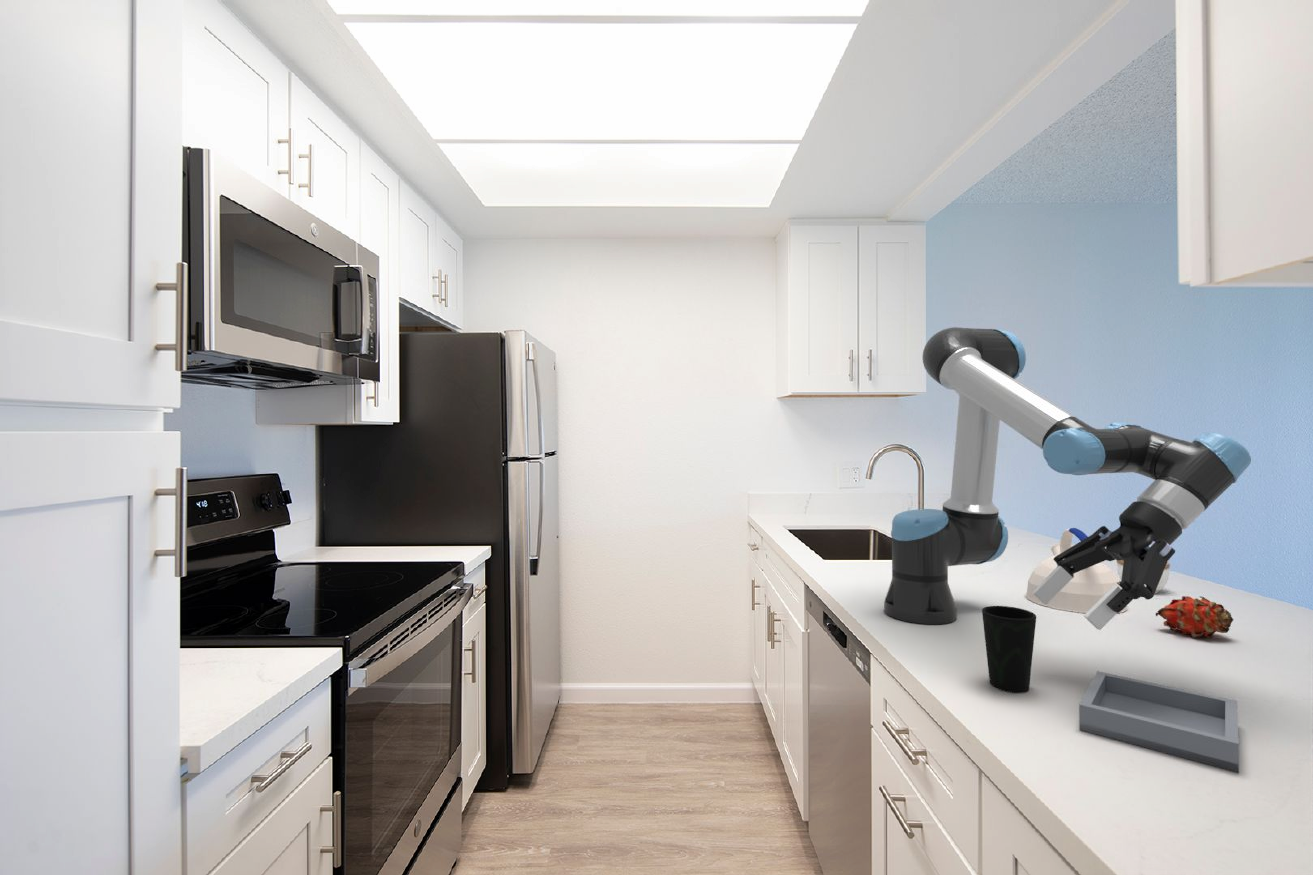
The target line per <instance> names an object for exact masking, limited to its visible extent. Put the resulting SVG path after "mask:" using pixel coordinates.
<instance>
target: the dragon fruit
mask: <svg viewBox="0 0 1313 875" xmlns="http://www.w3.org/2000/svg"><path fill="white" fill-rule="evenodd" d="M1200 598H1201V599H1199V598H1193V597H1191V596H1189V595H1188V596H1187V595H1182V596H1181V599H1171V602H1170V603H1169V604H1166V605H1165V606H1164V607H1161V608H1160V609H1159V610H1157V611H1156V612H1155V617H1158V616H1160V617H1161V618H1162V619H1164V620H1165V621H1163V626H1164V627H1167V628H1169V630H1170V631H1175V632H1178V633H1180V634H1183V635H1184V634H1191V637H1192V638H1193V639H1194V638H1197V637H1204V638H1207V639H1208V638H1209V639H1210V638H1214V634H1215V633H1220V634H1226V633H1228V632H1229V631H1230V628H1231V625H1232V623H1233V621H1234V618H1233V617H1232V613H1231V612H1229V611H1228V610H1227V609H1225V607H1224V605H1222V604H1220V603H1217V602H1214V601H1210V600H1209V599H1207V598H1206V597H1204V596H1200Z"/></svg>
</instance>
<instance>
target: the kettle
mask: <svg viewBox="0 0 1313 875" xmlns="http://www.w3.org/2000/svg"><path fill="white" fill-rule="evenodd" d="M1074 536H1075V537H1076V538H1077V539H1078V540H1079V542H1081V541H1082V540H1084V539H1086V538H1087V537H1089V536H1088V535H1087V534H1086V533H1085V532H1084V531H1082V530H1080V529H1078V528H1076V527H1072V528H1070V527H1069V528H1066V529H1065V530H1064V531H1063V532H1062V534H1061V536H1060V543H1057V544H1053V546H1052V547H1051V548H1050V550H1051V552H1052V554H1053V555H1052V556H1050V557H1048V558H1046V559H1044V560H1043V561H1040V563H1038V565H1036V566H1035V568H1033V570H1032V572H1031V574H1030V576H1029V578H1028V580H1027V588H1026V594H1025V597H1026V598H1027V599H1028V600H1029V601H1030V602H1032V603H1035V604H1036V603H1037V604H1036V605H1039V604H1040V605H1039V606H1042V607H1045V606H1047V607H1046V608H1049V607H1050V608H1051V609H1053V608H1054V609H1053V610H1058V609H1059V610H1058V611H1063V610H1066V611H1065V612H1069V611H1073V612H1072V613H1077V612H1079V613H1078V614H1086V613H1087V612H1088V611H1089V610H1090V609H1091V608H1092V607H1093V606H1094V605H1095V604H1096V603H1097V602H1098V601H1099V600H1100V599H1101V598H1102V597H1103V596H1104V595H1105V594H1106V593H1107V592H1108V591H1109V590H1110V589H1111V588H1112V587H1113V586H1114V585H1115V586H1118V587H1119V588H1120V589H1122V588H1121V587H1120V586H1119V585H1118V584H1117V582H1118V583H1119V582H1120V581H1121V580H1120V578H1119V576H1118V575H1117V574H1115V572H1114V571H1113V570H1112V569H1111V568H1110V567H1109V566H1107V565H1105V564H1104V563H1103V562H1100V563H1098V564H1096V565H1093V566H1091V567H1088V568H1086V569H1084V570H1081V571H1079V572H1076V573H1074V578H1073V579H1071V580H1070V581H1069V582H1068V583H1067V584H1066V585H1065V586H1064V587H1063V588H1062V589H1061V590H1060V591H1059V592H1058V593H1057V594H1056V595H1055V596H1054V597H1053V598H1052V599H1051V600H1050V601H1049V602H1048V603H1047V604H1046V605H1045V604H1043V603H1042V602H1041V601H1040V600H1039V599H1038V598H1037V597H1036V596H1035V595H1034V594H1033V593H1032V592H1033V591H1034V590H1035V589H1036V588H1037V587H1038V586H1039V585H1040V584H1041V583H1042V582H1043V581H1044V580H1045V579H1046V578H1047V577H1048V576H1049V575H1050V574H1051V573H1052V572H1053V571H1054V570H1055V569H1056V568H1057V566H1058V565H1057V563H1056V562H1055V561H1054V560H1053V559H1054V557H1056V556H1057V555H1059V554H1061V553H1062V552H1064V551H1066V550H1067V549H1069V548H1071V547H1072V539H1073V537H1074ZM1119 584H1120V583H1119ZM1127 610H1129V608H1128V605H1127V606H1126V607H1125V608H1124V609H1123V610H1122V611H1120V612H1119V613H1118V614H1122V613H1124V612H1125V611H1127ZM1121 612H1122V613H1121Z"/></svg>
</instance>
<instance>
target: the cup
mask: <svg viewBox="0 0 1313 875" xmlns="http://www.w3.org/2000/svg"><path fill="white" fill-rule="evenodd" d="M981 614H982V622H983V631H984V632H983V633H984V643H985V650H986V659H987V660H986V661H987V671H988V679H989V685H990V686H991V687H993V688H995V689H997V690H1000V691H1002V692H1007V693H1012V694H1013V693H1014V694H1024V693H1027V692H1029V690H1030V683H1031V673H1032V665H1033V664H1032V663H1033V653H1034V643H1035V634H1036V633H1035V632H1036V626H1037V625H1036V624H1037V623H1036V622H1037V615H1036V614H1035V613H1034V612H1032V611H1030V610H1027V609H1023V608H1020V607H1015V606H1007V605H990V606H989V605H988V606H985V607H983V608H982V609H981Z"/></svg>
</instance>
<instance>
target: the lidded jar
mask: <svg viewBox="0 0 1313 875" xmlns="http://www.w3.org/2000/svg"><path fill="white" fill-rule="evenodd" d="M1116 563H1117V564H1116V567H1117V568H1116V570H1117V576H1118V578H1119V579H1120V581H1121V579H1122V571H1123V563H1124V561H1122V560H1116ZM1170 564H1171V563H1169V562H1168V561H1167V564H1166V566H1165V569H1164V571H1163V574H1162V576H1161V579H1160V581H1159V584H1158V586H1157V589H1156V591H1155V594H1158V593H1159V592H1160V591H1161V590H1163V588H1165V587H1166V585H1167V584H1168V581H1169V576H1170ZM1144 586H1145V587H1146V584H1144Z"/></svg>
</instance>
